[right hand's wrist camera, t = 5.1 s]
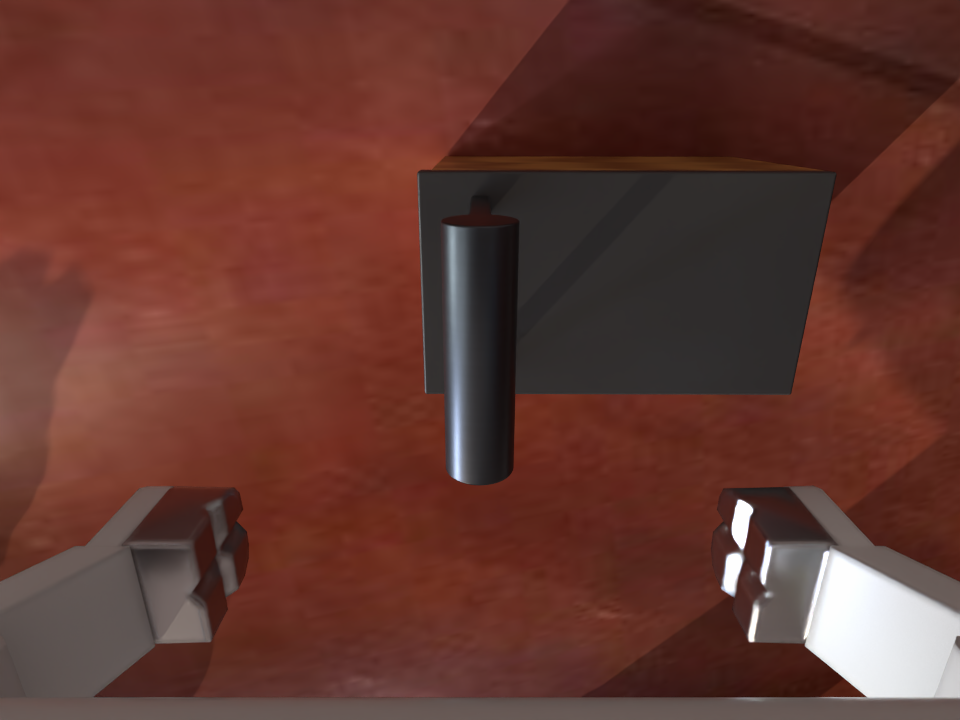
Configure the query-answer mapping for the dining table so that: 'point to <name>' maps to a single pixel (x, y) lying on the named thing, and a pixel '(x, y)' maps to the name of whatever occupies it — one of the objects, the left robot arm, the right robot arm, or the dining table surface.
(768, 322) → the lid
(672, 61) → the dining table surface
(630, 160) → the chest
